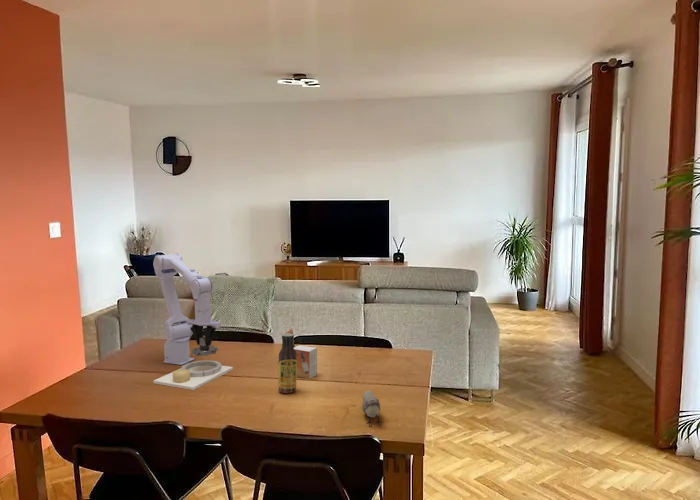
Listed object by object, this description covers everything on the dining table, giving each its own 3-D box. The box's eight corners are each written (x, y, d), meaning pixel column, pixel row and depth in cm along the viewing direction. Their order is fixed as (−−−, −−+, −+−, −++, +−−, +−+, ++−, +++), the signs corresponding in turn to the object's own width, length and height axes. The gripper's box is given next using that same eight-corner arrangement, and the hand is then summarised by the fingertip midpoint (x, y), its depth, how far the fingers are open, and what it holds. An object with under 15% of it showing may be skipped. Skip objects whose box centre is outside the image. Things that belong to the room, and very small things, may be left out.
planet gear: (186, 354, 203) (185, 339, 202) (202, 347, 211) (201, 332, 211) (207, 357, 199) (206, 341, 198) (222, 349, 208) (222, 334, 207)
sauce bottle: (279, 395, 181) (278, 337, 178) (277, 388, 187) (275, 333, 184) (298, 393, 182) (297, 336, 180) (295, 386, 188) (294, 331, 186)
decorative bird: (375, 405, 172) (375, 382, 171) (383, 427, 156) (383, 402, 155) (359, 406, 171) (358, 383, 171) (365, 428, 156) (365, 403, 155)
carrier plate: (153, 383, 193) (152, 372, 193) (195, 364, 214) (195, 354, 214) (193, 390, 186) (193, 379, 186) (232, 369, 207) (232, 359, 207)
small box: (291, 376, 199) (290, 348, 198) (299, 371, 204) (299, 344, 203) (309, 379, 196) (309, 351, 194) (317, 374, 201) (317, 347, 199)
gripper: (224, 309, 204) (226, 343, 205) (194, 306, 210) (195, 340, 211) (213, 313, 198) (214, 348, 199) (181, 310, 203) (183, 344, 205)
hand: (204, 344), depth 205 cm, fingers closed on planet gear, 4 cm apart
